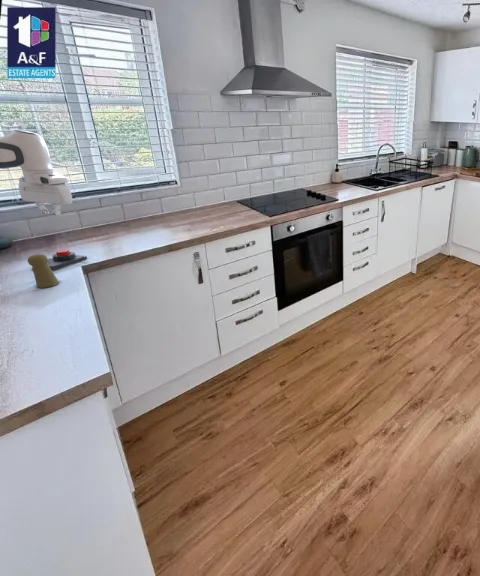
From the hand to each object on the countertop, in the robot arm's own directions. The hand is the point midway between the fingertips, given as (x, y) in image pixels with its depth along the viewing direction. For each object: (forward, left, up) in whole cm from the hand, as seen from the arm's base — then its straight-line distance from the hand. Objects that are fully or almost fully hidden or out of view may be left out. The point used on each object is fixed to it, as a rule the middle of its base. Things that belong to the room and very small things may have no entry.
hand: (51, 214), depth 143 cm
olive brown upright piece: (-14, -18, -21) cm, 31 cm away
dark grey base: (-2, -1, -21) cm, 21 cm away
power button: (0, 0, -17) cm, 17 cm away
